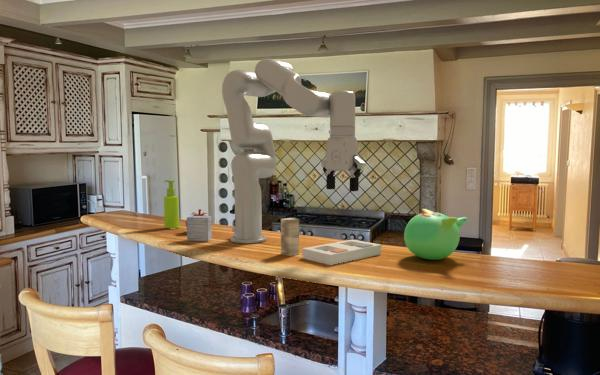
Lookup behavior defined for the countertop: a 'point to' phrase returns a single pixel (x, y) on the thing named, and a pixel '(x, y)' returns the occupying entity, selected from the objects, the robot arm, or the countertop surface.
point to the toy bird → (433, 234)
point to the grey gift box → (199, 228)
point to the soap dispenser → (171, 207)
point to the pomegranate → (197, 215)
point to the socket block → (341, 251)
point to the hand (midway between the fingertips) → (342, 190)
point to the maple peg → (290, 236)
